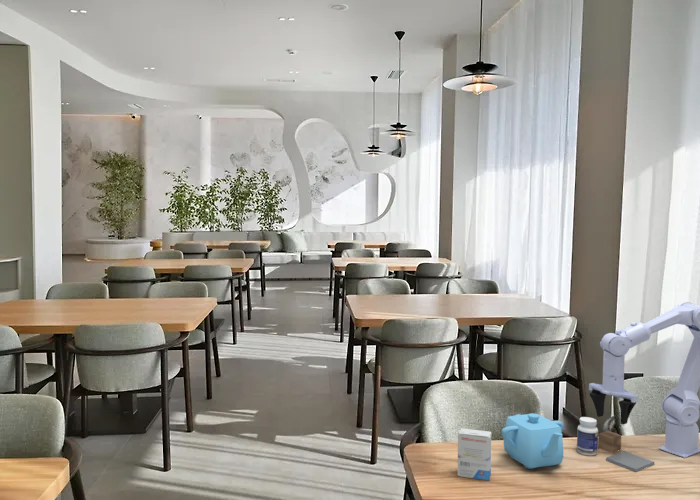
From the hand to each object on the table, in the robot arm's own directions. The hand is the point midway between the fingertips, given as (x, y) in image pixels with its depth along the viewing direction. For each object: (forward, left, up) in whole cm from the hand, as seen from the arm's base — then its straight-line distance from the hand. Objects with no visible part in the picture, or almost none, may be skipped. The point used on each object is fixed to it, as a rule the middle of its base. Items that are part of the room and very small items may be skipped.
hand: (611, 419), depth 175 cm
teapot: (+26, -6, -10) cm, 28 cm away
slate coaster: (+3, +8, -9) cm, 13 cm away
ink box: (+46, -10, -10) cm, 48 cm away
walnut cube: (-1, -1, -10) cm, 10 cm away
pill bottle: (+7, -3, -10) cm, 12 cm away
